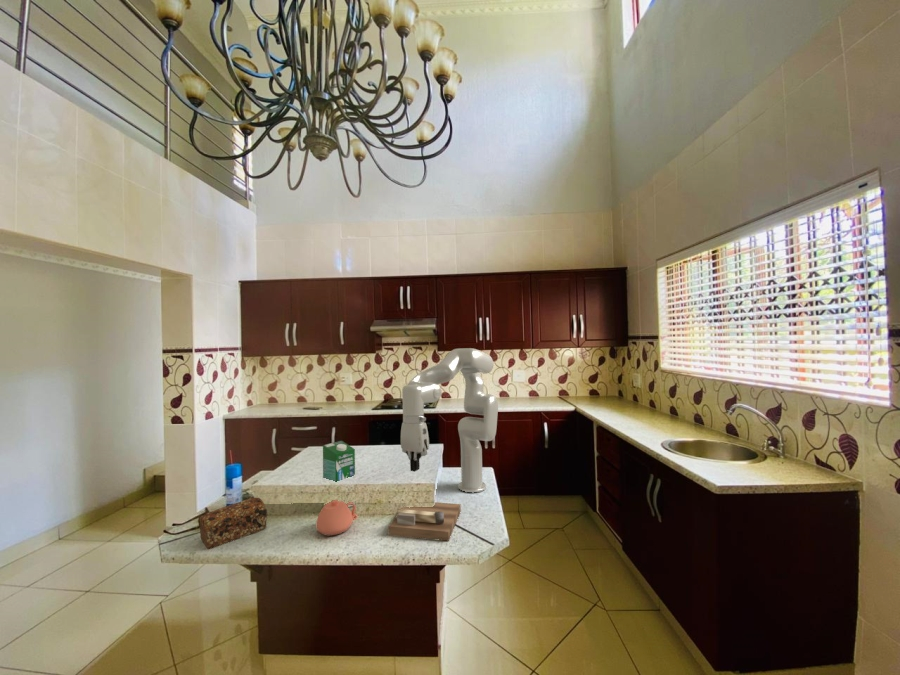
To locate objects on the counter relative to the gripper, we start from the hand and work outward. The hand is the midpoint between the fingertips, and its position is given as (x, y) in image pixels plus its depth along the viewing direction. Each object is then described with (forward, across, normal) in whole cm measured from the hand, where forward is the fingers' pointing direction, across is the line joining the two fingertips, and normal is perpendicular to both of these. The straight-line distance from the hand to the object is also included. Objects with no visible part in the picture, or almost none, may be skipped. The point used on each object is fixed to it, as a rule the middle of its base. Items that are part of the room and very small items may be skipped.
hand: (415, 470), depth 128 cm
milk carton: (+20, +36, +4) cm, 41 cm away
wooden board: (+20, -3, -3) cm, 20 cm away
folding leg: (+16, -4, +2) cm, 17 cm away
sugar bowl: (+19, +22, +17) cm, 34 cm away
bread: (+19, +51, +38) cm, 66 cm away
